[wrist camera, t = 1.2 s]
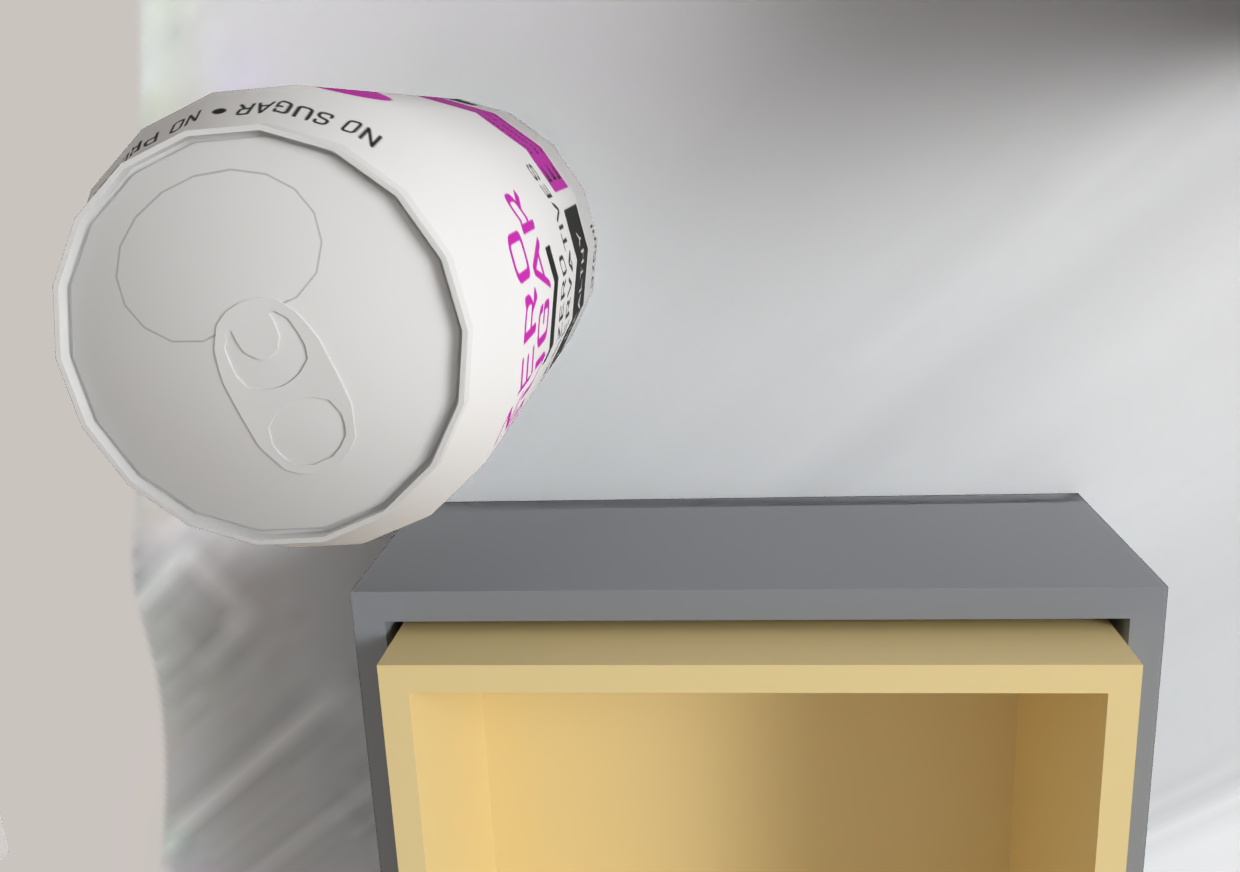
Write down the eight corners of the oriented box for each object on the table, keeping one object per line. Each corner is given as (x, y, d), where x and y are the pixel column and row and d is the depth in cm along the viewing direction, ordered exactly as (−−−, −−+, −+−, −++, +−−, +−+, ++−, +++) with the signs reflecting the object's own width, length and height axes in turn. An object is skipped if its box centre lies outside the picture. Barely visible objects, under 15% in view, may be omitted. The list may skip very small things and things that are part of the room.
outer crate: (420, 502, 35) (349, 592, 29) (1078, 493, 34) (1168, 586, 27) (468, 1031, 40) (418, 1213, 34) (1042, 1047, 39) (1110, 1243, 32)
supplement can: (269, 177, 33) (-78, 220, 19) (524, 50, 32) (360, -10, 17) (398, 427, 35) (170, 644, 20) (646, 318, 33) (590, 468, 19)
